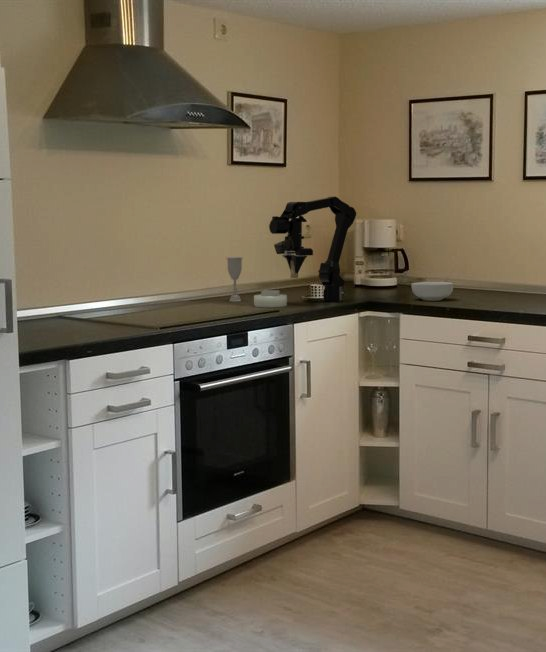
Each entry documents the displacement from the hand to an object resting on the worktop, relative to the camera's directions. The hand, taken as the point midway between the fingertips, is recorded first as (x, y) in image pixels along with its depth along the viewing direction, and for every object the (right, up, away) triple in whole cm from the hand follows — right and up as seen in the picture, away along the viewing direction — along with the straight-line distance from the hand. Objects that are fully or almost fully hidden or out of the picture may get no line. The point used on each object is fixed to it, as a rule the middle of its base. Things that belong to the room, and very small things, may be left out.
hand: (294, 273), depth 381 cm
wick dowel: (0, -2, 0) cm, 2 cm away
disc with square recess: (-9, -13, -4) cm, 16 cm away
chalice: (-24, -11, +18) cm, 32 cm away
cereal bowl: (+57, -11, +13) cm, 59 cm away
